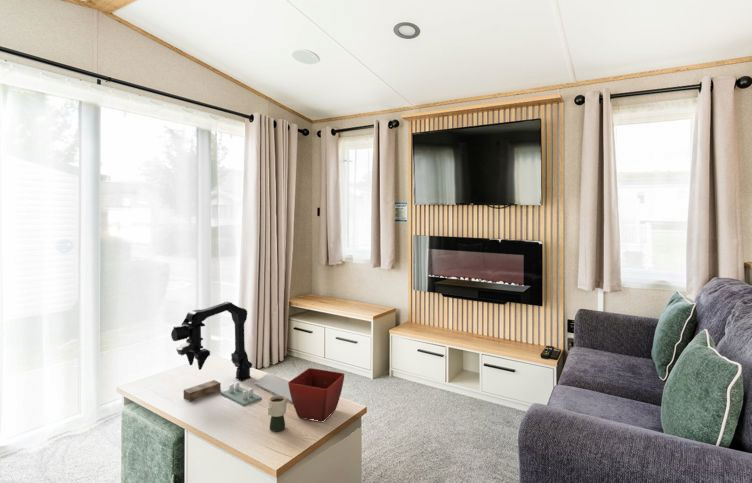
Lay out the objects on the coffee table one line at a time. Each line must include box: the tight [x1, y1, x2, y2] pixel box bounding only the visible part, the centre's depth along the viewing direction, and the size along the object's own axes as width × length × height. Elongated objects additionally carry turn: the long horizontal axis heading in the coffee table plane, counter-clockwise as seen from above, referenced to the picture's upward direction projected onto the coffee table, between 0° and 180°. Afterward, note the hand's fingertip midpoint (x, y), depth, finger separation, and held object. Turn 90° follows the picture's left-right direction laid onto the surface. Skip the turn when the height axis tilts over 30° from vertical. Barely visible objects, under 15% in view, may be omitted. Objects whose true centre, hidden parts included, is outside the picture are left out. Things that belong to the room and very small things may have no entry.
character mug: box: [267, 395, 288, 432], centre depth 167 cm, size 11×7×13 cm, turn 152°
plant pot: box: [288, 367, 345, 422], centre depth 181 cm, size 19×19×17 cm
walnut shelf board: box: [183, 379, 221, 402], centre depth 200 cm, size 16×6×4 cm, turn 141°
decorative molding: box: [253, 372, 293, 404], centre depth 205 cm, size 34×5×10 cm
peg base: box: [220, 381, 263, 407], centre depth 198 cm, size 10×20×5 cm, turn 51°
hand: (195, 367), depth 199 cm, fingers open, 9 cm apart
